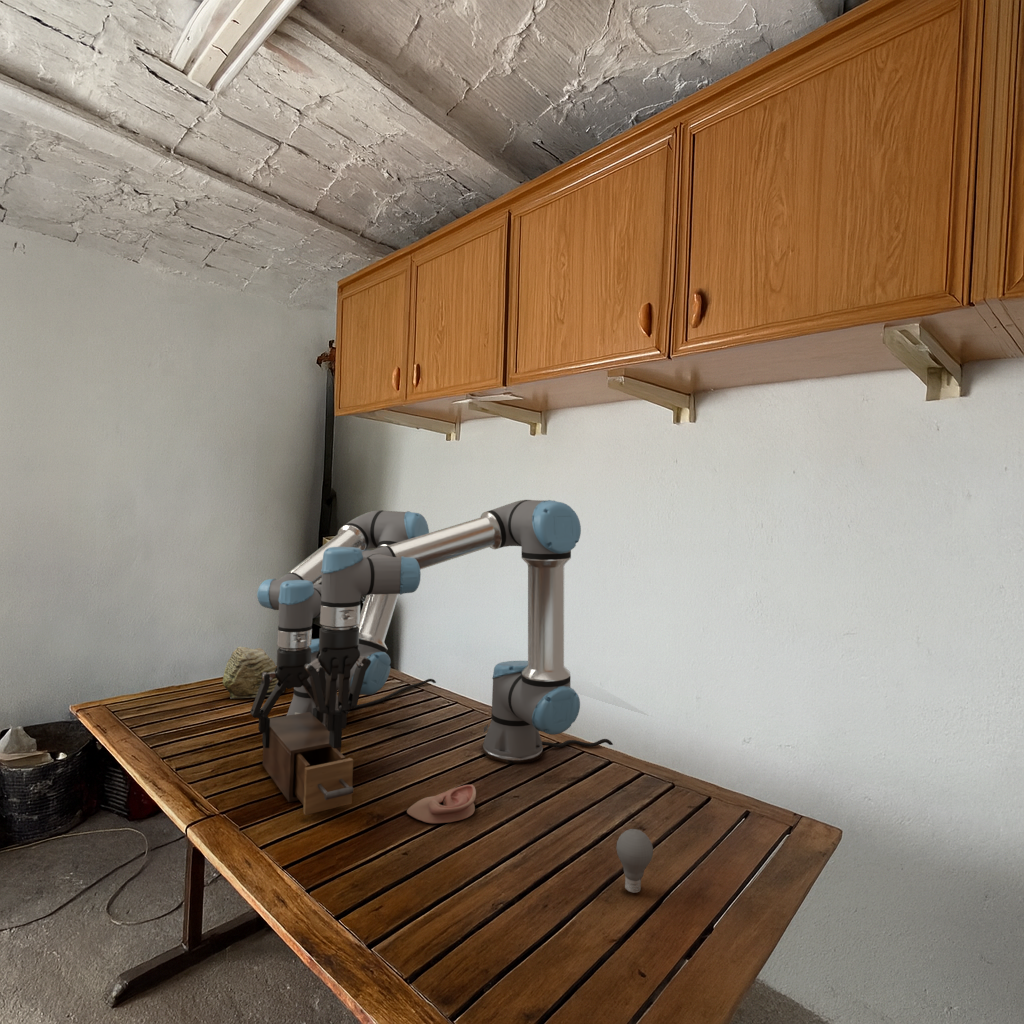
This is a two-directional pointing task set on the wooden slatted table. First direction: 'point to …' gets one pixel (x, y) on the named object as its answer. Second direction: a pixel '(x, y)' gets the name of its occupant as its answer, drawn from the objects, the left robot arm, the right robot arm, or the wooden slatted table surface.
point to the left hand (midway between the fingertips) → (291, 741)
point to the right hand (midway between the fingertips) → (335, 745)
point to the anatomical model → (445, 806)
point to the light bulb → (634, 857)
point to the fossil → (247, 672)
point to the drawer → (322, 779)
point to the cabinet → (291, 747)
